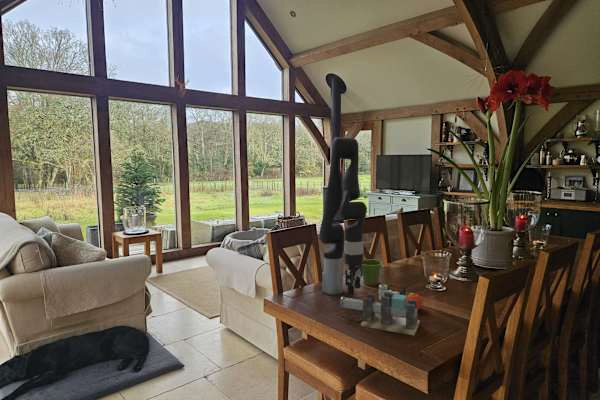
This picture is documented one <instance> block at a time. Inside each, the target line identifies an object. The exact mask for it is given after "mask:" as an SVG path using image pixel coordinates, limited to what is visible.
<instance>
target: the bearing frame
mask: <svg viewBox="0 0 600 400" xmlns="http://www.w3.org/2000/svg"><path fill="white" fill-rule="evenodd" d="M393 296H394V295H393V293H390V292H385V293H384V296H382V297H381V300H380V303H381V313H376V312H372V302H376V293H372V292H371V293H369V292H367V294H366V297H363V298H362V300H363V310H362V322H361V323H360V326H361V327H363V328H364V327H366V328H371V329H375V330H381V331H386V332H393V333H398V334H405V335H409V336H415V334H416V333H417V330H418V328H419V326H420V322H421V321H420V320H419V319H418V313H417V316H416V318H415V308H417V312H419V311H418V310H419V309H418V300H413V299H409V304H406V317H401V316H395V315H390V304H392V297H393Z"/></svg>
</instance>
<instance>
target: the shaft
mask: <svg viewBox="0 0 600 400" xmlns="http://www.w3.org/2000/svg"><path fill="white" fill-rule="evenodd" d="M339 306H340V308H343V309H344V308H346V309H353V310H357V311H359V310H360V311H363V299H358V298H357V299H356V298H351V297H345V296H342V295H341V297H340V300H339ZM372 312H375V313H377V314H381V302H378V301H375V302H372ZM417 314H418V311H417V308H415V318H416V316H417V317H418V315H417ZM390 315H393V316H396V317H402V318H406V307H405V309H404V310H399V309H392V304H390Z"/></svg>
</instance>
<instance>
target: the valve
mask: <svg viewBox="0 0 600 400" xmlns="http://www.w3.org/2000/svg"><path fill="white" fill-rule="evenodd" d="M406 289H407V287H406V286H403V288H402V290H400V291H399V292H398V291H393V290H392V289H389V290H388V285H387V284H385V283H383V284H382V283H381V284H379V285H378V299H379V300H380V301H381V297H382V296H384V293H385V292H390V293H393V296H394V294H399V295H406V294H407V290H406ZM406 296H407V295H406Z"/></svg>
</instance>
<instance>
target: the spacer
mask: <svg viewBox="0 0 600 400" xmlns="http://www.w3.org/2000/svg"><path fill="white" fill-rule="evenodd" d="M407 296H408V295H399V294H394V295H393V297H392V309H399V310H404V309H405V307H406V303H407Z"/></svg>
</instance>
